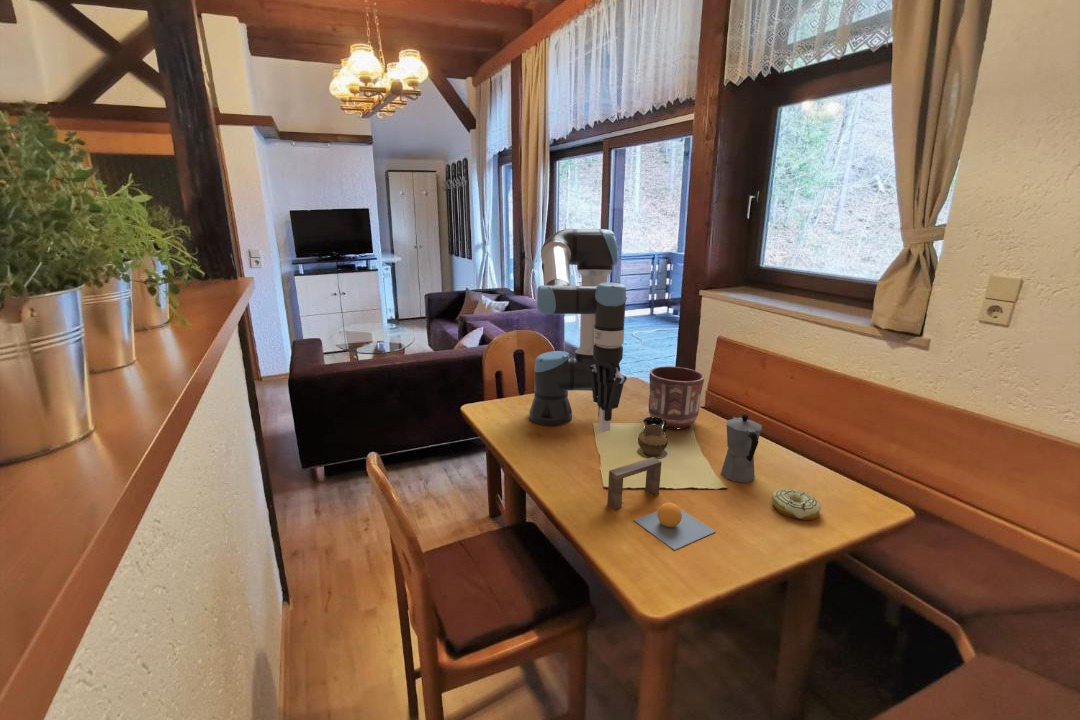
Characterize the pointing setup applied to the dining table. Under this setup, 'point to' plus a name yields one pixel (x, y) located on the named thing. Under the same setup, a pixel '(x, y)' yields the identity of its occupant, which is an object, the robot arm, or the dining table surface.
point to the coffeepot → (741, 449)
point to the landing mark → (675, 530)
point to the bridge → (619, 473)
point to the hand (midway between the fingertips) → (604, 430)
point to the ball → (669, 514)
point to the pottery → (675, 395)
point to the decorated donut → (796, 504)
